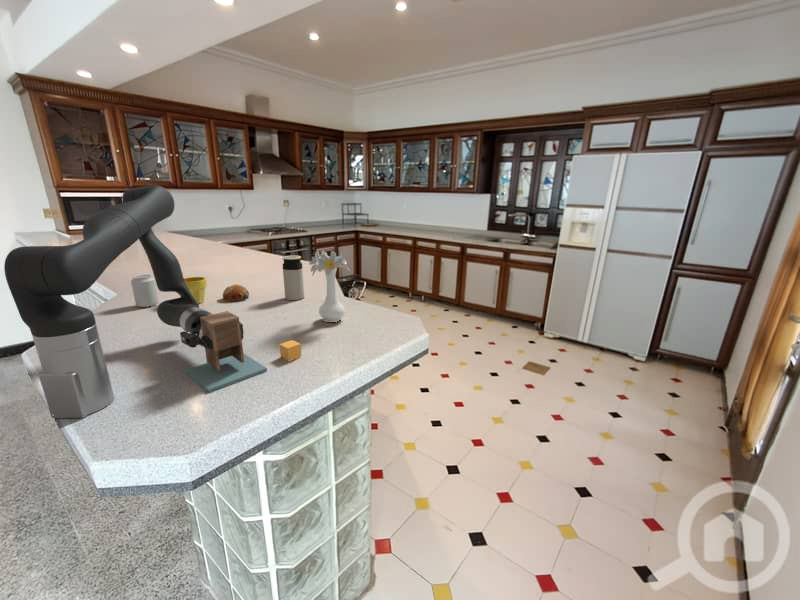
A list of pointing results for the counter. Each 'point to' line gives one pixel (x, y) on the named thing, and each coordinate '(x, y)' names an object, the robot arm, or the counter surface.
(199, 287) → the plant pot
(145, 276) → the can
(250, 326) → the counter surface
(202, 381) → the teal mat
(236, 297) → the bread roll
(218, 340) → the walnut cover
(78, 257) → the robot arm
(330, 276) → the flower vase
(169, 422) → the counter surface
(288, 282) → the travel mug
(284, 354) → the orange block
